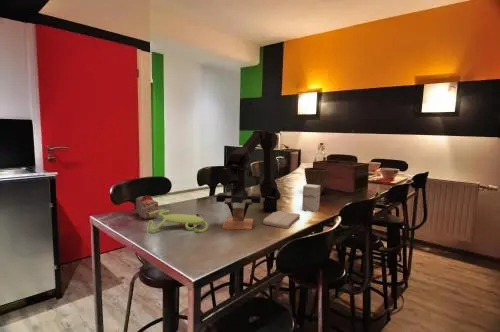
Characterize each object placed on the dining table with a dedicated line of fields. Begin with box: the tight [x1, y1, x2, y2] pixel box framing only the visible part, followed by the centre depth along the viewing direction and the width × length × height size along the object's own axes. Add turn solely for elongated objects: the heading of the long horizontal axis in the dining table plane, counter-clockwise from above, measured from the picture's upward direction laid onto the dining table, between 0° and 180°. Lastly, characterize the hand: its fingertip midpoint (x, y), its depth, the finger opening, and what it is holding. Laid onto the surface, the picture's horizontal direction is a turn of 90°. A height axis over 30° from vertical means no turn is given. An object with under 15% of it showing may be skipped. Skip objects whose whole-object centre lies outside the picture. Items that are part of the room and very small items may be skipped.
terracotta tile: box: [222, 217, 254, 231], centre depth 127 cm, size 12×12×1 cm
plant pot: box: [304, 167, 329, 195], centre depth 188 cm, size 15×15×16 cm
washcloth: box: [262, 210, 301, 229], centre depth 133 cm, size 12×18×3 cm, turn 154°
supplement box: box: [301, 183, 321, 213], centre depth 152 cm, size 7×7×13 cm
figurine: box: [146, 208, 209, 234], centre depth 125 cm, size 18×27×6 cm
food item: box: [135, 195, 160, 220], centre depth 137 cm, size 14×8×10 cm, turn 41°
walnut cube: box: [232, 207, 245, 221], centre depth 127 cm, size 5×5×5 cm
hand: (238, 217), depth 127 cm, fingers closed on walnut cube, 4 cm apart
